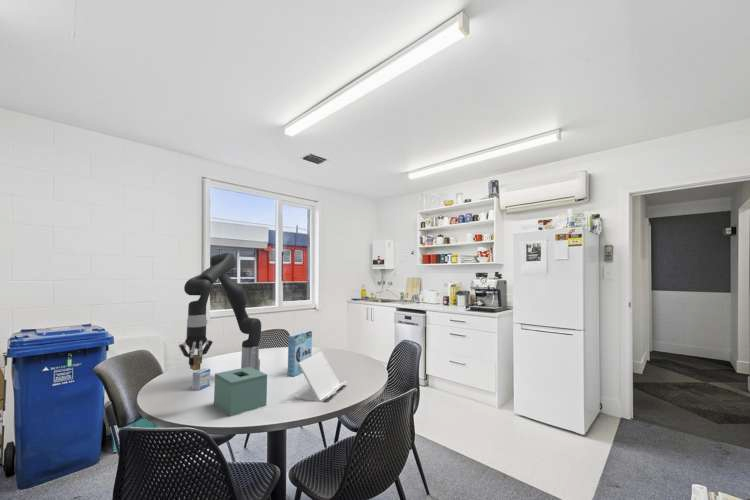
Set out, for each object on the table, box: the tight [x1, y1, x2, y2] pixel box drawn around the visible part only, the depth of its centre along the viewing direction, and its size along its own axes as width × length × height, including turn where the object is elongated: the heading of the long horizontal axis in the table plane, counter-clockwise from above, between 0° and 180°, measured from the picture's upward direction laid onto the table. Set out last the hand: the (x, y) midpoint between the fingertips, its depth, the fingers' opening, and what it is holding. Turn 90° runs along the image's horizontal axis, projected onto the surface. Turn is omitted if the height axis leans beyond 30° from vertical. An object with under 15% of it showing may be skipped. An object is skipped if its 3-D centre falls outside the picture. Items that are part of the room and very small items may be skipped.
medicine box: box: [191, 368, 211, 391], centre depth 173 cm, size 8×4×9 cm, turn 168°
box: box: [213, 367, 268, 417], centre depth 150 cm, size 16×18×14 cm
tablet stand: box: [293, 351, 348, 402], centre depth 168 cm, size 18×25×17 cm
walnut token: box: [189, 354, 202, 371], centre depth 145 cm, size 2×5×6 cm, turn 46°
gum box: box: [287, 330, 313, 377], centre depth 202 cm, size 20×5×23 cm, turn 160°
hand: (195, 365), depth 144 cm, fingers closed on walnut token, 2 cm apart
